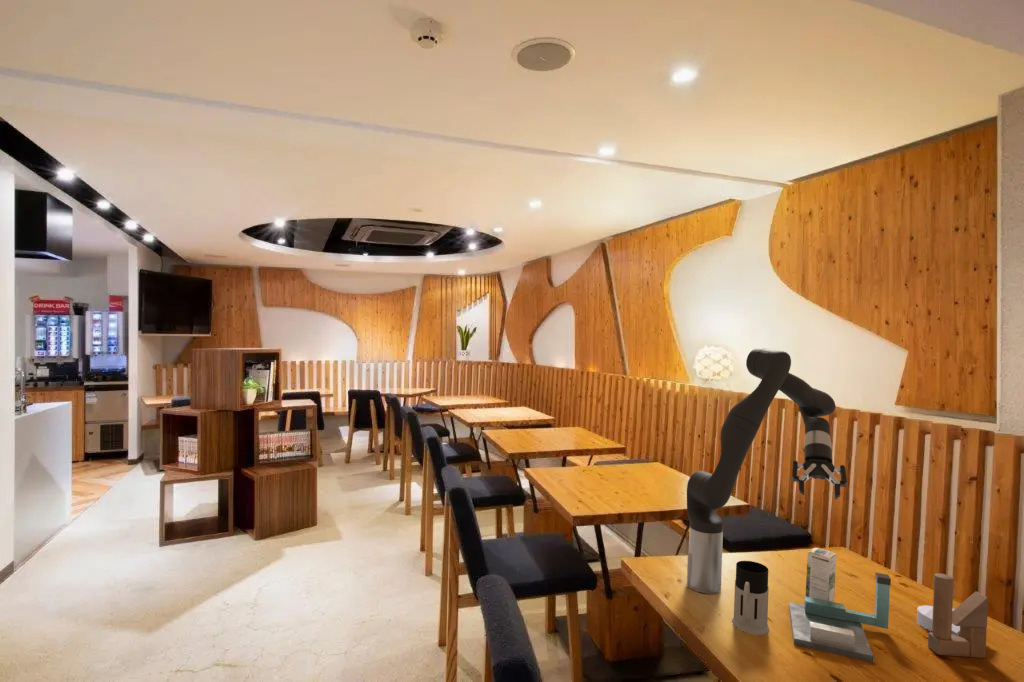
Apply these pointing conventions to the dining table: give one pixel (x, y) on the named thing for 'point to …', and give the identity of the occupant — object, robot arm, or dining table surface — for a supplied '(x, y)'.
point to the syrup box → (821, 574)
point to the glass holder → (751, 598)
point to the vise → (829, 634)
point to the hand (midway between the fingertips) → (819, 495)
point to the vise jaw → (841, 613)
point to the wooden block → (957, 621)
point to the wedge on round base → (931, 619)
